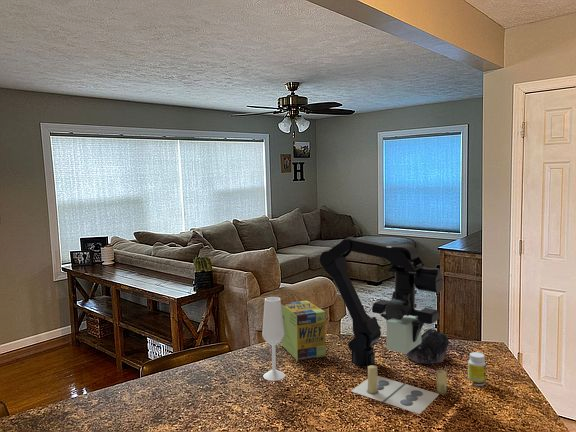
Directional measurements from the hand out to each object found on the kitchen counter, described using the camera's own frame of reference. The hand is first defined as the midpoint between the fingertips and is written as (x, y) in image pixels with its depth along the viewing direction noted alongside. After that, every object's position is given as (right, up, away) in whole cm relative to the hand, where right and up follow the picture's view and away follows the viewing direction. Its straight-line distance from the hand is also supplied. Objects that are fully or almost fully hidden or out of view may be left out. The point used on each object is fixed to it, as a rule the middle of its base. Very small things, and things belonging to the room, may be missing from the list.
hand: (404, 339), depth 137 cm
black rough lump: (+11, -10, +16) cm, 22 cm away
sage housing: (0, -2, 0) cm, 2 cm away
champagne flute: (-39, -12, +4) cm, 41 cm away
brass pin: (+8, -13, -11) cm, 18 cm away
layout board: (-5, -13, -10) cm, 17 cm away
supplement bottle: (+20, -12, -3) cm, 24 cm away
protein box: (-29, -10, +23) cm, 39 cm away
